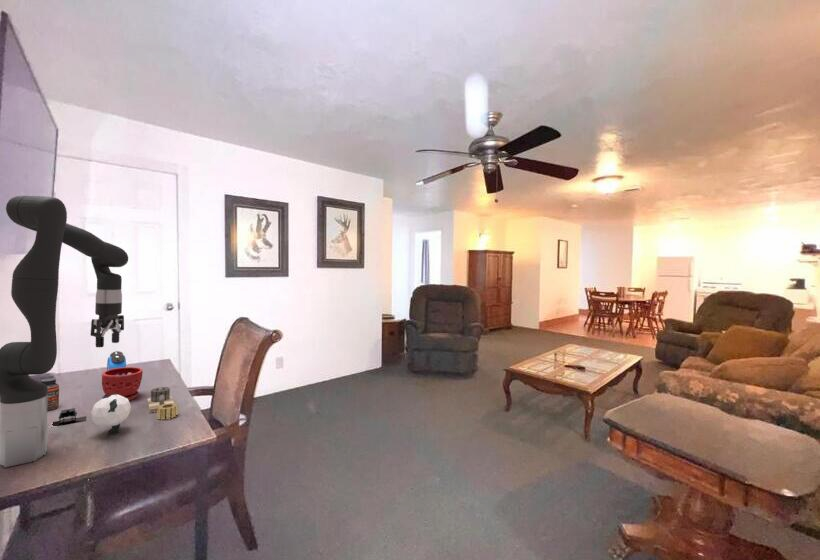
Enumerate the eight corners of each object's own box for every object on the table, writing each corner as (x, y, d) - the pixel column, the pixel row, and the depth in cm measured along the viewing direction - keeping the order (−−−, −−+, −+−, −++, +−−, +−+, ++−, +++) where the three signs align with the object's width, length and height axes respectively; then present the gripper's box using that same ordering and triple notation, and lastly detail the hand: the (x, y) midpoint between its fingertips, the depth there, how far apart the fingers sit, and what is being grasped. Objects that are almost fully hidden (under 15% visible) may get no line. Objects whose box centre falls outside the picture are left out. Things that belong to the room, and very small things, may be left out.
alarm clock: (106, 382, 166) (107, 350, 166) (123, 380, 170) (124, 349, 170) (108, 390, 157) (109, 356, 156) (126, 387, 161) (127, 354, 161)
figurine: (92, 426, 122) (93, 388, 122) (131, 419, 128) (131, 383, 128) (87, 448, 108) (87, 404, 107) (130, 439, 114) (131, 398, 114)
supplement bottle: (44, 412, 131) (44, 382, 131) (31, 411, 132) (32, 381, 132) (62, 407, 137) (63, 377, 137) (51, 405, 138) (51, 376, 138)
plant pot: (99, 407, 138) (100, 377, 138) (103, 397, 149) (103, 368, 148) (141, 401, 146) (142, 372, 145) (142, 391, 156) (142, 364, 156)
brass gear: (178, 417, 132) (178, 406, 132) (157, 421, 128) (158, 410, 128) (176, 412, 136) (176, 401, 136) (156, 415, 133) (156, 405, 132)
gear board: (174, 408, 139) (175, 393, 139) (149, 413, 134) (149, 397, 134) (170, 398, 150) (171, 384, 150) (147, 401, 145) (147, 387, 145)
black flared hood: (41, 431, 118) (41, 418, 118) (43, 424, 124) (44, 411, 124) (91, 422, 126) (91, 409, 126) (91, 415, 132) (91, 403, 132)
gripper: (107, 303, 126) (105, 348, 126) (131, 300, 140) (130, 341, 140) (83, 302, 125) (82, 348, 125) (110, 299, 139) (109, 341, 139)
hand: (107, 344), depth 132 cm, fingers open, 8 cm apart
